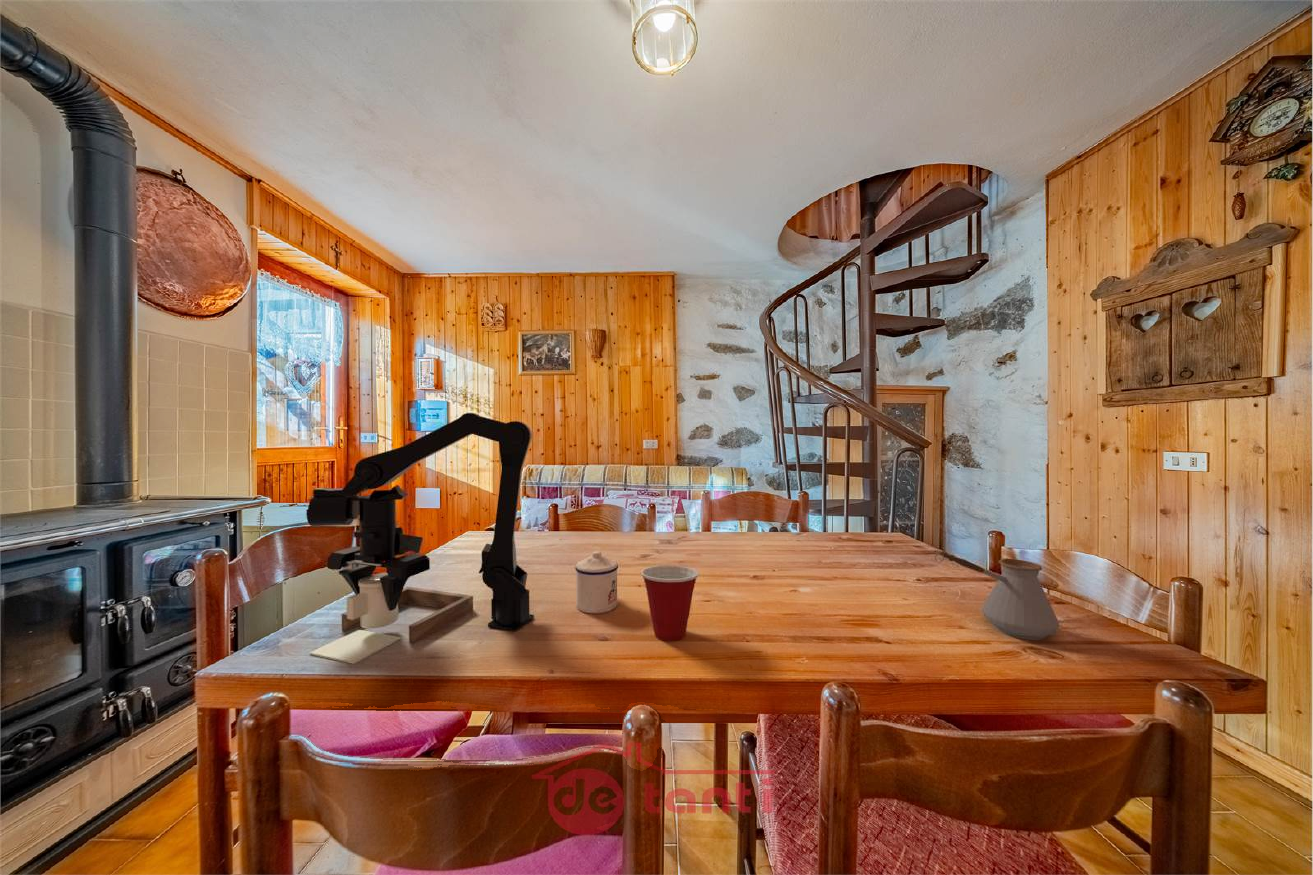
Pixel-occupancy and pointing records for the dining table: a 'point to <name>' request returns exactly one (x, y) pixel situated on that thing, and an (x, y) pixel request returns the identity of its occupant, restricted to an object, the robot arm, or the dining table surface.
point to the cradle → (450, 611)
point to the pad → (355, 646)
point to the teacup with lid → (596, 584)
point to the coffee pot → (1016, 599)
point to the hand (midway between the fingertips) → (379, 607)
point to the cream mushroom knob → (371, 604)
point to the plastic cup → (669, 599)
